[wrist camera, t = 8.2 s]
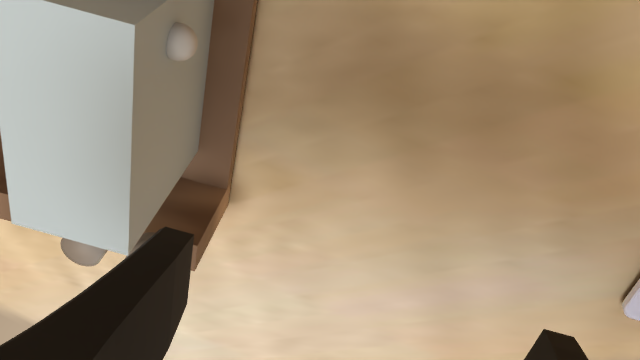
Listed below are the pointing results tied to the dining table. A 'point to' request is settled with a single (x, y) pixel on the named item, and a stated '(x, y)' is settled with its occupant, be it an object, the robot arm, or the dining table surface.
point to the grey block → (99, 111)
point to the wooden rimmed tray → (214, 143)
